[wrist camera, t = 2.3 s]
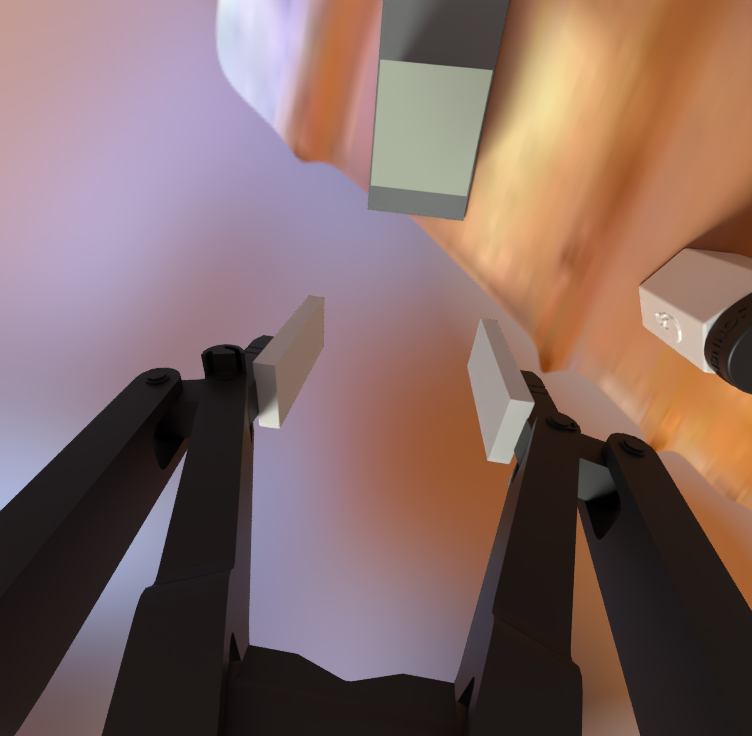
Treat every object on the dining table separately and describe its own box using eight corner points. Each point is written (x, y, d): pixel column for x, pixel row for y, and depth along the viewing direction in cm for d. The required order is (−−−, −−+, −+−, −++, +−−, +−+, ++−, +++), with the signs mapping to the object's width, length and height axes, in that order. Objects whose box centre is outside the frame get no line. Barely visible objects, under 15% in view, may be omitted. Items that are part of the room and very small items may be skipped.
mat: (411, -365, 18) (411, -377, 18) (584, -359, 18) (588, -372, 17) (368, 208, 33) (367, 209, 33) (462, 219, 32) (463, 220, 32)
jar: (632, 265, 33) (726, 313, 23) (737, 228, 30) (896, 263, 20) (641, 343, 37) (725, 414, 26) (735, 316, 34) (868, 383, 24)
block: (389, 81, 28) (380, 59, 22) (477, 90, 27) (492, 70, 21) (380, 180, 31) (370, 185, 25) (458, 189, 31) (466, 196, 25)
